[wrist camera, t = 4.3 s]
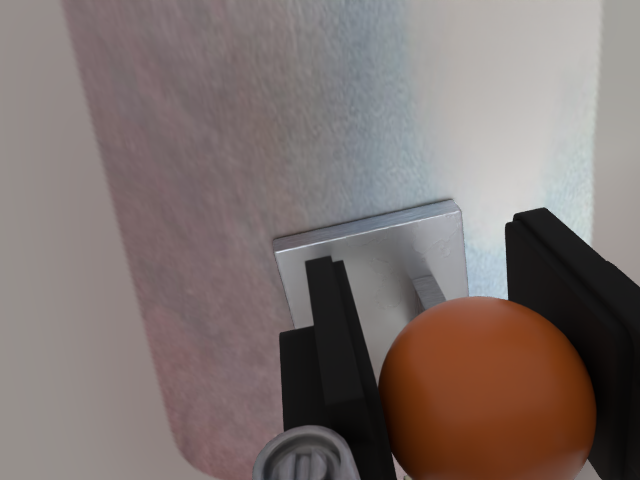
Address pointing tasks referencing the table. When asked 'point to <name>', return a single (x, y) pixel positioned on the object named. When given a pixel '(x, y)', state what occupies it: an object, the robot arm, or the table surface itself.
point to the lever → (486, 395)
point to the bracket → (382, 268)
